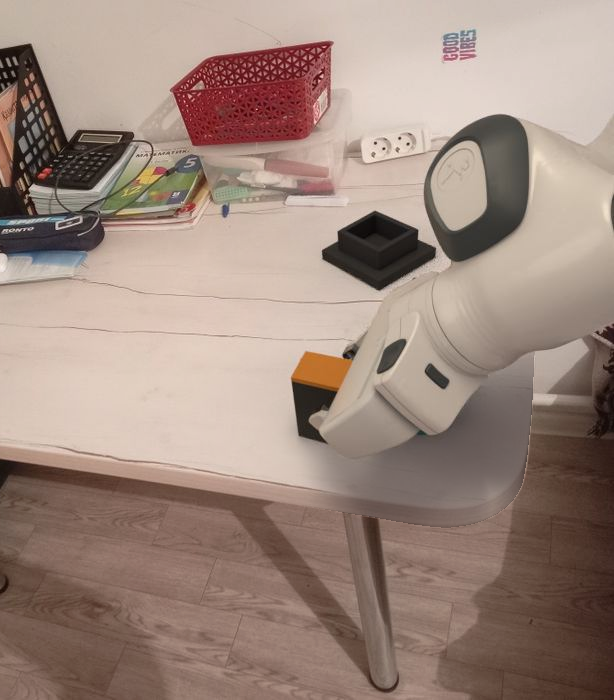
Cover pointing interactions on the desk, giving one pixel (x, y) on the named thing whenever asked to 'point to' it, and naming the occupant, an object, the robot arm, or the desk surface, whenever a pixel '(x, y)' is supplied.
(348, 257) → the square base socket
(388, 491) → the desk surface
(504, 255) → the robot arm
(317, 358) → the upright block
